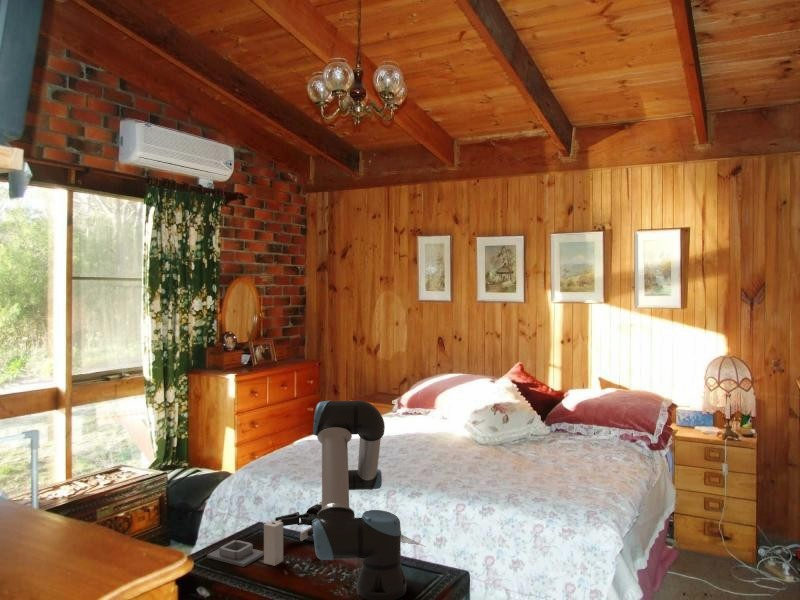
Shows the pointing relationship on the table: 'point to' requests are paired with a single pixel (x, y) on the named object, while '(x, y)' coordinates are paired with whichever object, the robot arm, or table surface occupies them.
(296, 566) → the table surface
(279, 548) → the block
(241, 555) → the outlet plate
